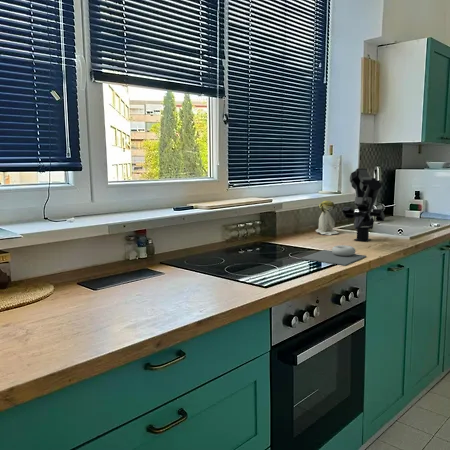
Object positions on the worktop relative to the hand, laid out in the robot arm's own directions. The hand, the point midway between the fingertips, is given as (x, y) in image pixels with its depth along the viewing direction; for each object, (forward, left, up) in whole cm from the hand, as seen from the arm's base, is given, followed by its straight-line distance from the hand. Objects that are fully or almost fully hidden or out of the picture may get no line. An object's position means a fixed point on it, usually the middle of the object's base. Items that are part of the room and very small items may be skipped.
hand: (356, 228), depth 202 cm
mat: (+20, -1, -10) cm, 22 cm away
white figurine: (-32, -32, -10) cm, 47 cm away
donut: (+8, 0, -8) cm, 11 cm away
